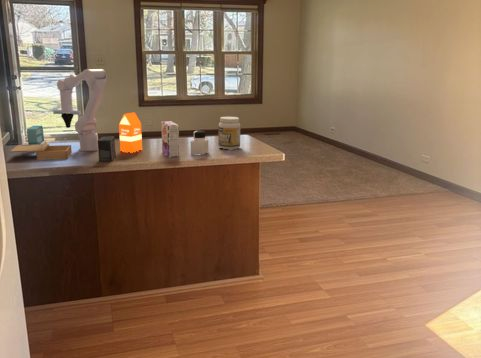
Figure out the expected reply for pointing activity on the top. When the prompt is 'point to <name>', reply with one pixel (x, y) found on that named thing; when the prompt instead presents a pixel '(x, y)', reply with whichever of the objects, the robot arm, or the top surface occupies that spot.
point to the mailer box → (55, 152)
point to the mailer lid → (31, 148)
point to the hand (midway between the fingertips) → (68, 127)
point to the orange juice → (130, 133)
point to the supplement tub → (229, 133)
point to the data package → (35, 135)
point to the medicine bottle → (199, 143)
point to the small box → (106, 149)
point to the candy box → (170, 138)
